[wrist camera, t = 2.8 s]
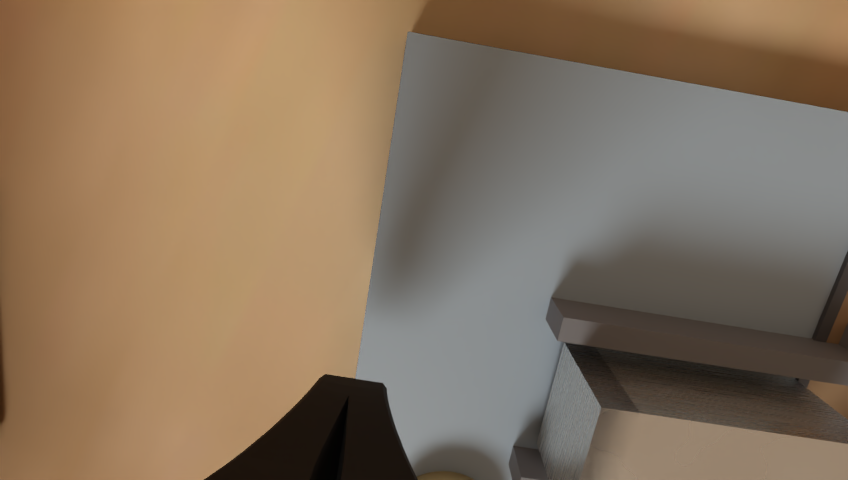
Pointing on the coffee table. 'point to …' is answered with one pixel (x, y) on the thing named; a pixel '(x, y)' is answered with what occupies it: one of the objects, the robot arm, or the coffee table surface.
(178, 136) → the coffee table surface
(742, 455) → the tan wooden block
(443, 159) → the door board
